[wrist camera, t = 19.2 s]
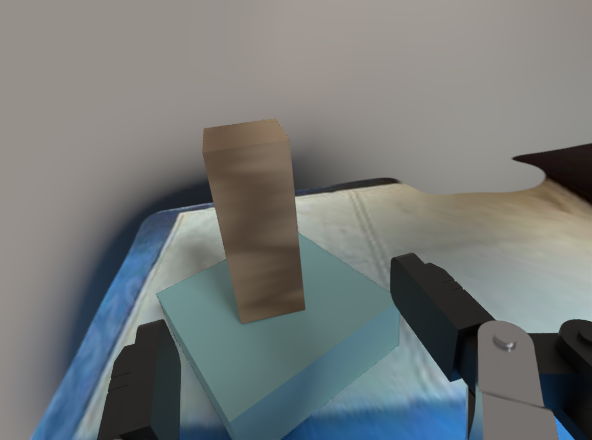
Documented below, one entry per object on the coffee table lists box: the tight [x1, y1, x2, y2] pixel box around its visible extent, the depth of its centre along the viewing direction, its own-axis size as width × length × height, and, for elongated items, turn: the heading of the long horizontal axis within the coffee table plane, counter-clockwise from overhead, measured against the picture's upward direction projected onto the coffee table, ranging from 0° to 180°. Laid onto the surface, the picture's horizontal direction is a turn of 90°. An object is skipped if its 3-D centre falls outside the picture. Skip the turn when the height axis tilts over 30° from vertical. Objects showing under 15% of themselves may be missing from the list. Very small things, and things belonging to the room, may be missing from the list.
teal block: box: [156, 233, 400, 440], centre depth 27 cm, size 13×13×5 cm
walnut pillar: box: [202, 119, 305, 324], centre depth 23 cm, size 4×4×12 cm
